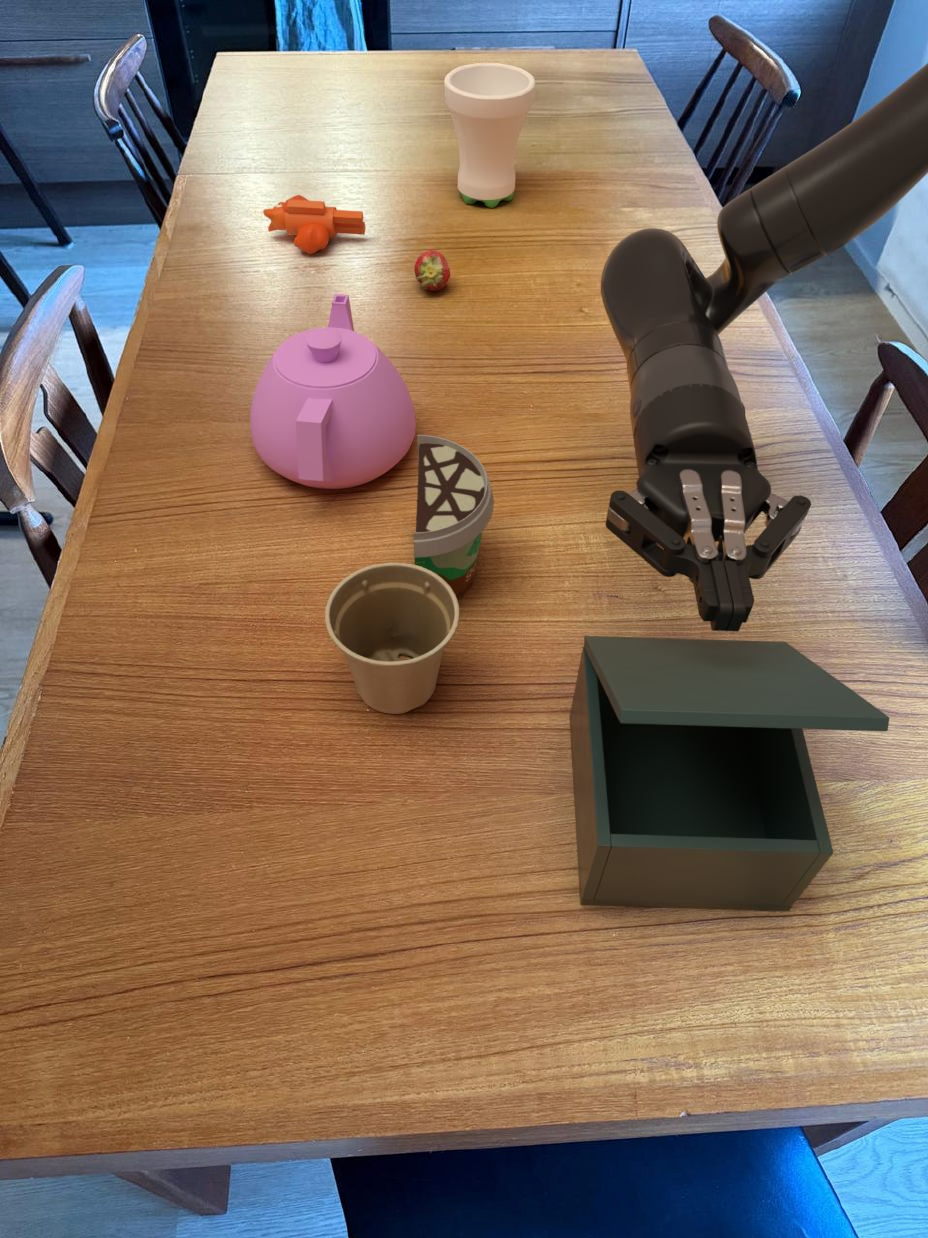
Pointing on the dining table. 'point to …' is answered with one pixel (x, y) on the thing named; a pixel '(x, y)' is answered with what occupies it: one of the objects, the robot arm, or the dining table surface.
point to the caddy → (691, 811)
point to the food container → (450, 511)
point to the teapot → (331, 407)
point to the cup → (488, 126)
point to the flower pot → (393, 632)
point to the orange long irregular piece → (313, 222)
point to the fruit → (432, 270)
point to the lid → (724, 685)
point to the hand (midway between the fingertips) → (728, 622)
